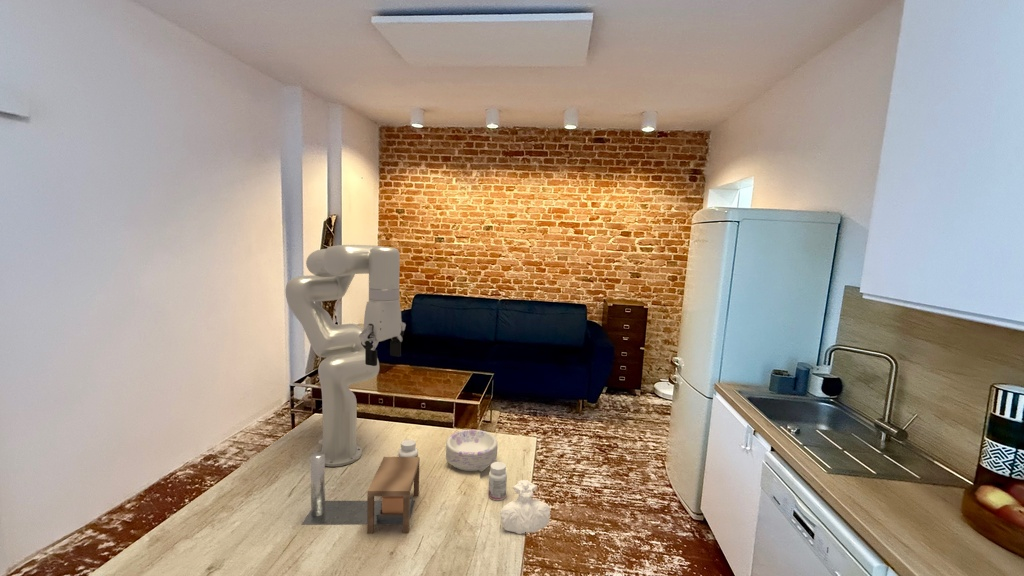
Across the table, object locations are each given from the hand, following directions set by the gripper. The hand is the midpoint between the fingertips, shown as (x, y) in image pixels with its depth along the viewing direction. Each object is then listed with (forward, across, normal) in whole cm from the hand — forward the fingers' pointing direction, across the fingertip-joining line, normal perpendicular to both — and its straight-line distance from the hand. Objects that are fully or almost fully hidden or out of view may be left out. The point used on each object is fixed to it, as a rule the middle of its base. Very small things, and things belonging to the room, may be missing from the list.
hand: (383, 360), depth 110 cm
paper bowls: (+35, -20, +16) cm, 44 cm away
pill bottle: (+35, -9, +29) cm, 47 cm away
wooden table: (+35, +8, +14) cm, 38 cm away
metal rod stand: (+35, +12, +3) cm, 37 cm away
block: (+34, +9, +11) cm, 36 cm away
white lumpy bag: (+35, -1, +40) cm, 53 cm away
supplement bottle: (+35, -8, +3) cm, 36 cm away
